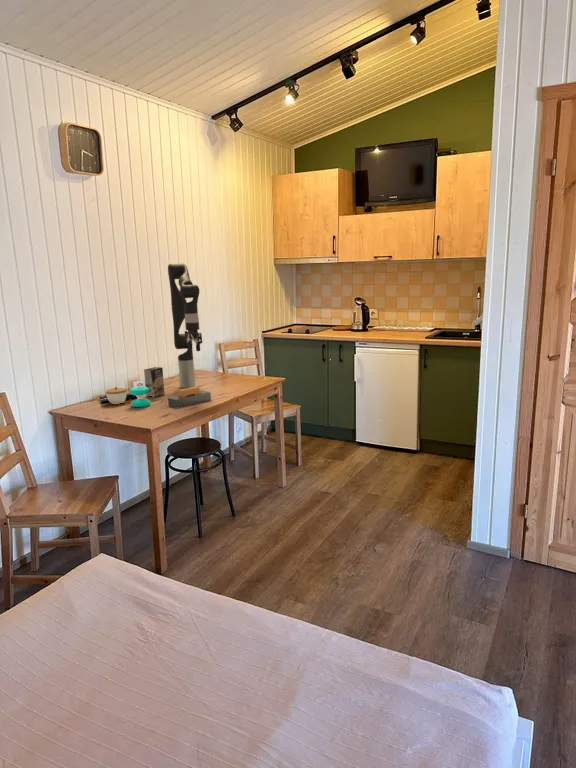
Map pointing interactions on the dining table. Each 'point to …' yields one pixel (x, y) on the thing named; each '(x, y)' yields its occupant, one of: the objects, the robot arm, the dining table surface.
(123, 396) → the lidded jar
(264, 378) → the dining table surface
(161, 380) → the coffee box
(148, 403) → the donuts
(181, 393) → the long orange brick
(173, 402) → the grey slotted block
